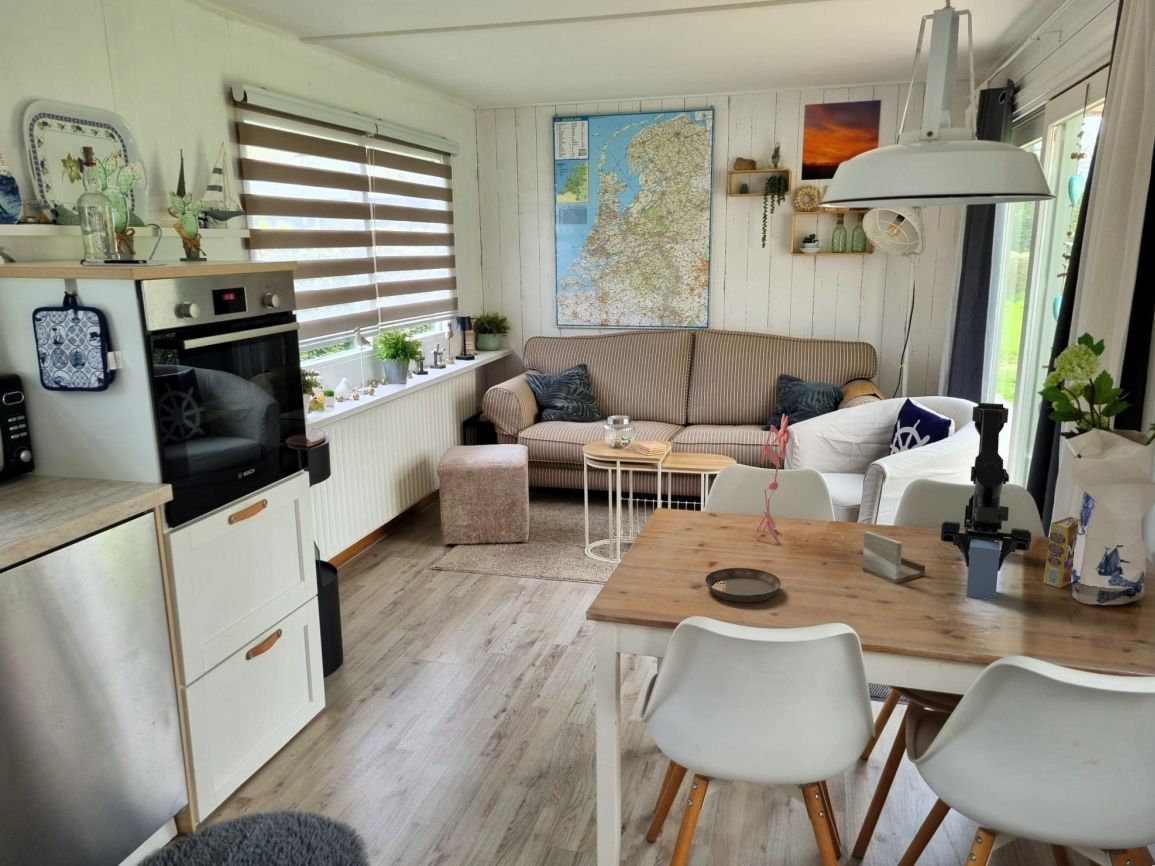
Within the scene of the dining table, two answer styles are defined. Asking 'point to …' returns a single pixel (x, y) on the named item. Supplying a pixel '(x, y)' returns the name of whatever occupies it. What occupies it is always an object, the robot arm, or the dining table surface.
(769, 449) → the figurine
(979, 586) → the blue-grey rectangular block
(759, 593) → the plant saucer
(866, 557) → the wooden stand
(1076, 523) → the candy box
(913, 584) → the dining table surface
